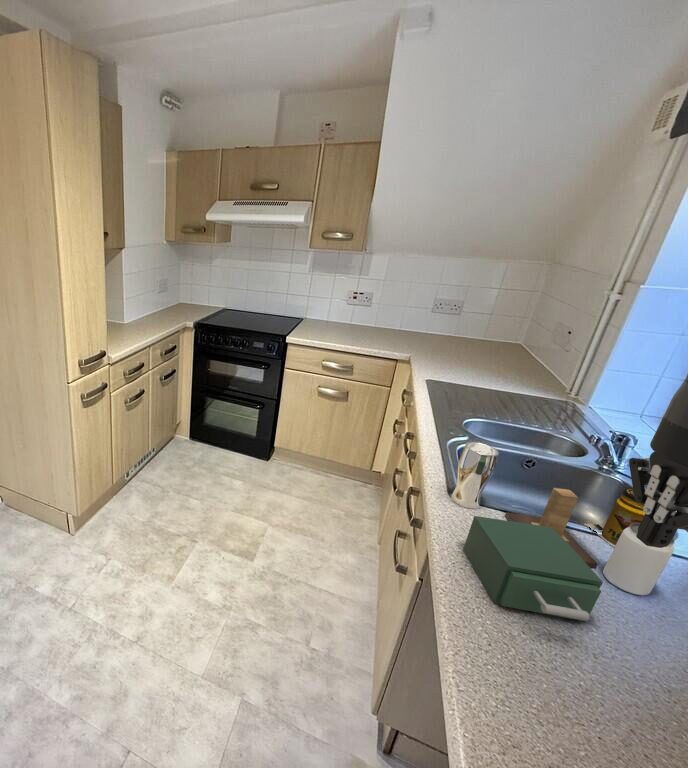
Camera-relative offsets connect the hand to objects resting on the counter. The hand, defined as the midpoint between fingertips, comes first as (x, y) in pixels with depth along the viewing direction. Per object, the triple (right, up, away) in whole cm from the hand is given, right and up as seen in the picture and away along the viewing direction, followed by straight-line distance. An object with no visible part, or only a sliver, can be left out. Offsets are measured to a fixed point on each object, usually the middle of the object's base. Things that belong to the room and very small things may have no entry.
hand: (649, 542), depth 54 cm
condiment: (+36, -13, +38) cm, 54 cm away
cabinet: (+4, -17, +25) cm, 31 cm away
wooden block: (+19, -12, +36) cm, 43 cm away
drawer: (+3, -18, +21) cm, 28 cm away
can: (+25, -18, +26) cm, 40 cm away
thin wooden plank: (+19, -13, +36) cm, 43 cm away
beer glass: (+10, -9, +49) cm, 51 cm away
